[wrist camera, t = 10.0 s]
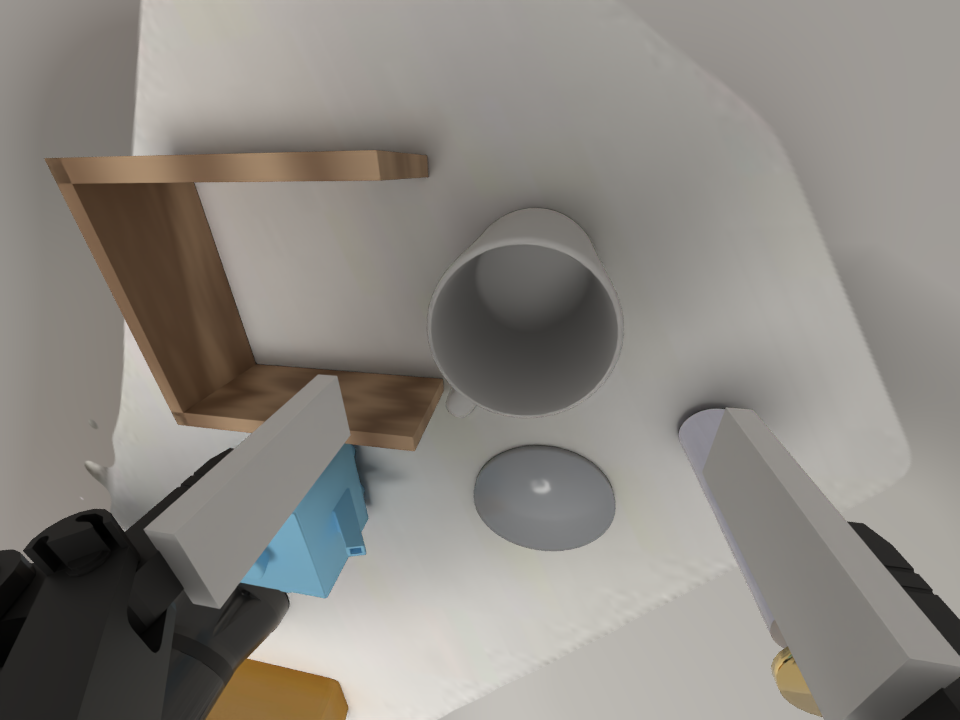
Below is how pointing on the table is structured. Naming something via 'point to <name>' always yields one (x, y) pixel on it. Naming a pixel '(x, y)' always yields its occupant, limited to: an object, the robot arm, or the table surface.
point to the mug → (525, 319)
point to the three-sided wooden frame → (222, 287)
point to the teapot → (317, 534)
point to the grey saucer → (544, 498)
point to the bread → (278, 695)
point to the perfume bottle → (785, 671)
